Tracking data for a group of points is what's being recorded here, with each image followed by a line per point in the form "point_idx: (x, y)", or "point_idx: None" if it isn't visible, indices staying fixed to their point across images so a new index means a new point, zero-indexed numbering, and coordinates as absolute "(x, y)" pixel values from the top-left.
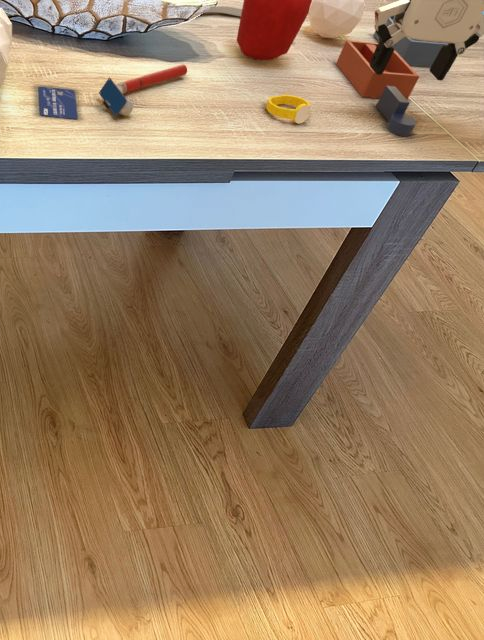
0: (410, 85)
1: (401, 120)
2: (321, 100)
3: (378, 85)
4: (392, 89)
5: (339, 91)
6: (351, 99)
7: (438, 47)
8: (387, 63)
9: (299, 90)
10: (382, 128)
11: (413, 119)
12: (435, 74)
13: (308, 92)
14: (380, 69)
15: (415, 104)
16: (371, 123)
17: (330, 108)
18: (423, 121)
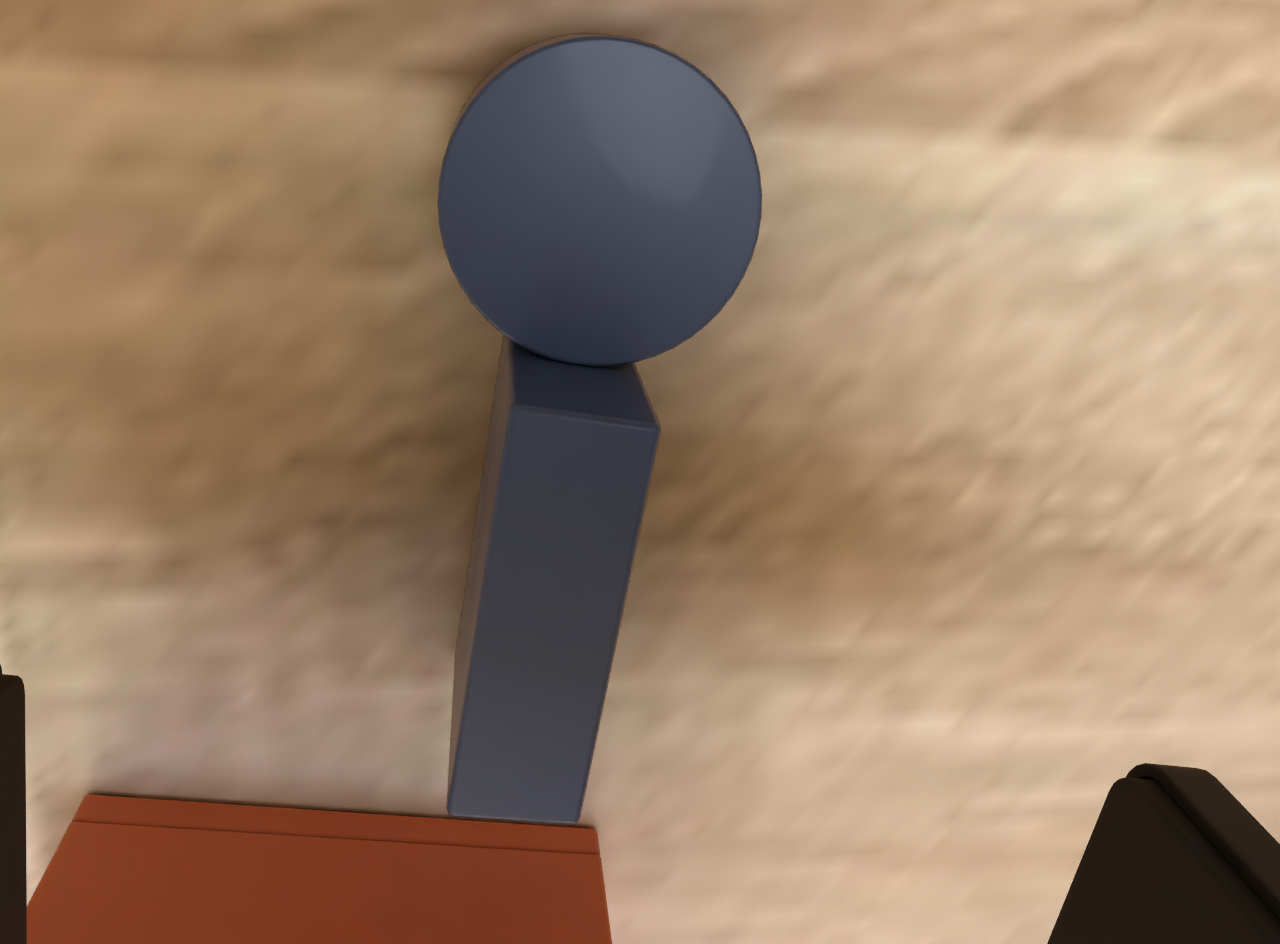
0: (77, 926)
1: (678, 176)
2: (1068, 755)
3: (488, 921)
4: (549, 741)
5: (769, 907)
6: (740, 786)
7: None
8: (1244, 906)
9: None
10: (776, 238)
11: (469, 197)
12: (6, 813)
13: None
14: (1250, 818)
15: None
16: (839, 347)
17: (1085, 625)
18: (106, 378)
